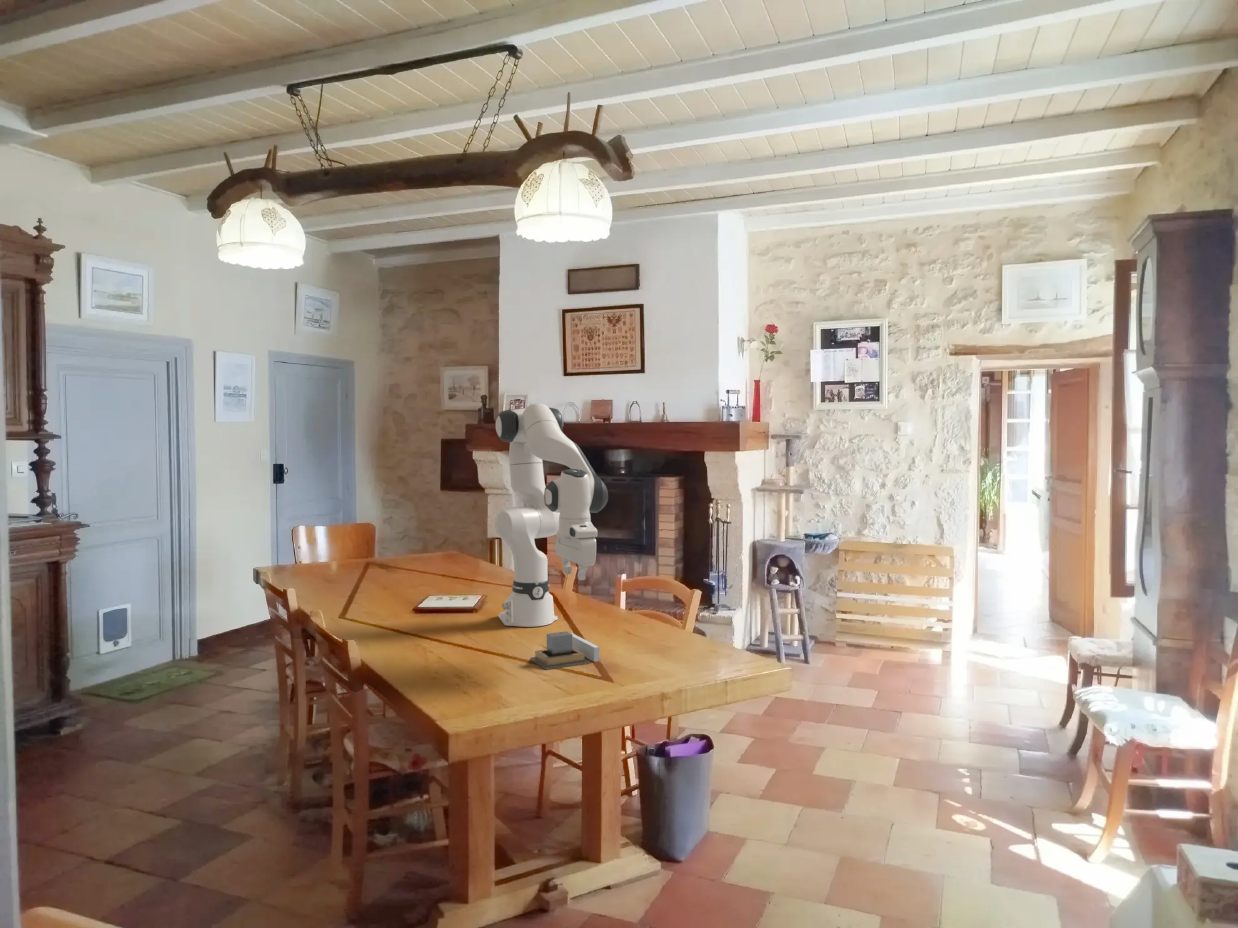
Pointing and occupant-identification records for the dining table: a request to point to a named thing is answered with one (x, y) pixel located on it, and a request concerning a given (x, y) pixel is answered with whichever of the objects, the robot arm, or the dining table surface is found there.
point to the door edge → (585, 648)
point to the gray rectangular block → (559, 644)
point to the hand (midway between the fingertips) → (574, 576)
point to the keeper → (558, 659)
